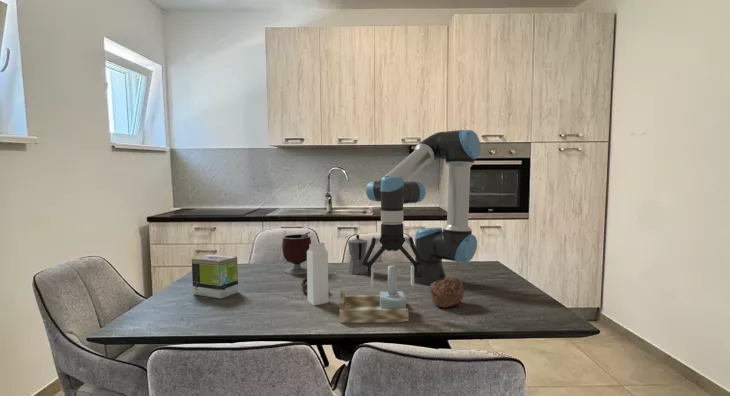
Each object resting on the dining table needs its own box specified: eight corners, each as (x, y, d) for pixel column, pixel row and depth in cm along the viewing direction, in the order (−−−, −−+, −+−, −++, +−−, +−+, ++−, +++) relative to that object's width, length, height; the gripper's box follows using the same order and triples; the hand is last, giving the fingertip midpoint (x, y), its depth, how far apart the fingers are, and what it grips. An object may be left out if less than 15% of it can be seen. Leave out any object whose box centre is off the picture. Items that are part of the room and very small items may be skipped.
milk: (328, 303, 144) (328, 243, 142) (313, 305, 141) (312, 245, 139) (322, 298, 149) (321, 241, 148) (307, 300, 146) (306, 242, 145)
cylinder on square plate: (403, 304, 137) (403, 262, 136) (406, 315, 127) (406, 270, 126) (379, 305, 137) (378, 263, 136) (380, 315, 127) (380, 270, 126)
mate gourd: (276, 272, 188) (275, 231, 187) (297, 266, 200) (296, 227, 198) (300, 276, 179) (299, 233, 178) (320, 270, 191) (319, 229, 190)
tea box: (239, 292, 158) (238, 256, 157) (220, 299, 148) (219, 261, 147) (211, 287, 164) (210, 253, 163) (191, 294, 155) (190, 257, 154)
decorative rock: (458, 298, 147) (458, 272, 147) (471, 309, 136) (471, 280, 136) (424, 301, 145) (424, 274, 145) (435, 311, 134) (435, 283, 133)
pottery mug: (327, 297, 152) (317, 280, 150) (307, 306, 154) (296, 290, 152) (331, 280, 164) (321, 265, 161) (311, 289, 165) (301, 274, 163)
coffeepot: (346, 269, 193) (346, 233, 192) (365, 268, 194) (365, 232, 193) (350, 277, 178) (350, 238, 176) (370, 276, 179) (370, 237, 178)
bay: (402, 302, 144) (402, 286, 143) (409, 321, 125) (409, 303, 125) (342, 303, 143) (341, 287, 143) (339, 322, 125) (339, 304, 124)
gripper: (427, 221, 134) (427, 281, 136) (354, 221, 134) (355, 282, 135) (431, 223, 127) (431, 288, 128) (354, 224, 126) (355, 289, 128)
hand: (392, 285), depth 132 cm, fingers open, 13 cm apart
